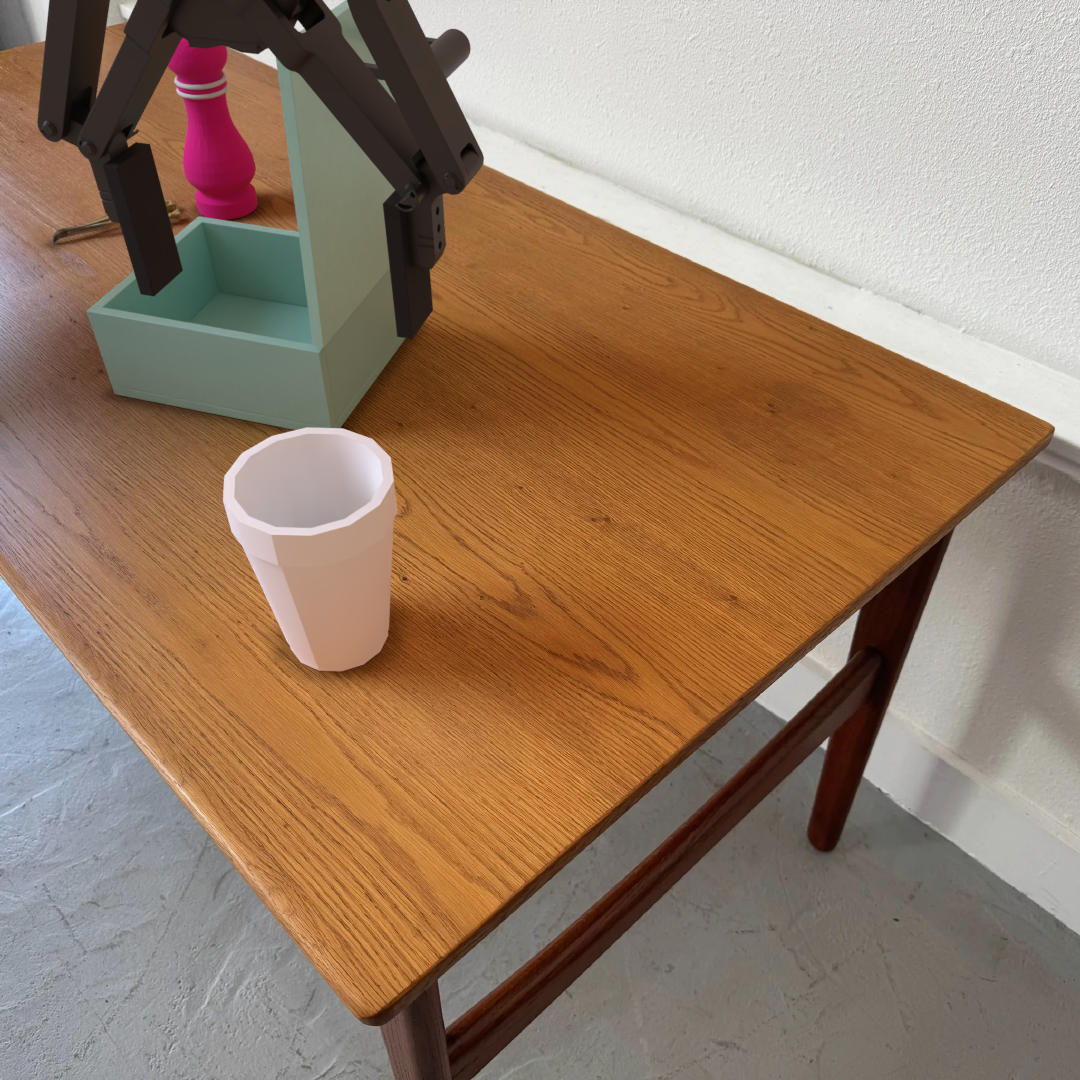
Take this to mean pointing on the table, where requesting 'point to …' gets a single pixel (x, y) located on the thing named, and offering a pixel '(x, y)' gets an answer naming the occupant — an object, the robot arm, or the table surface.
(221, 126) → the pepper mill
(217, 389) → the box
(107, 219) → the tongs
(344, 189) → the freezer lid
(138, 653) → the table surface
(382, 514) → the foam cup
